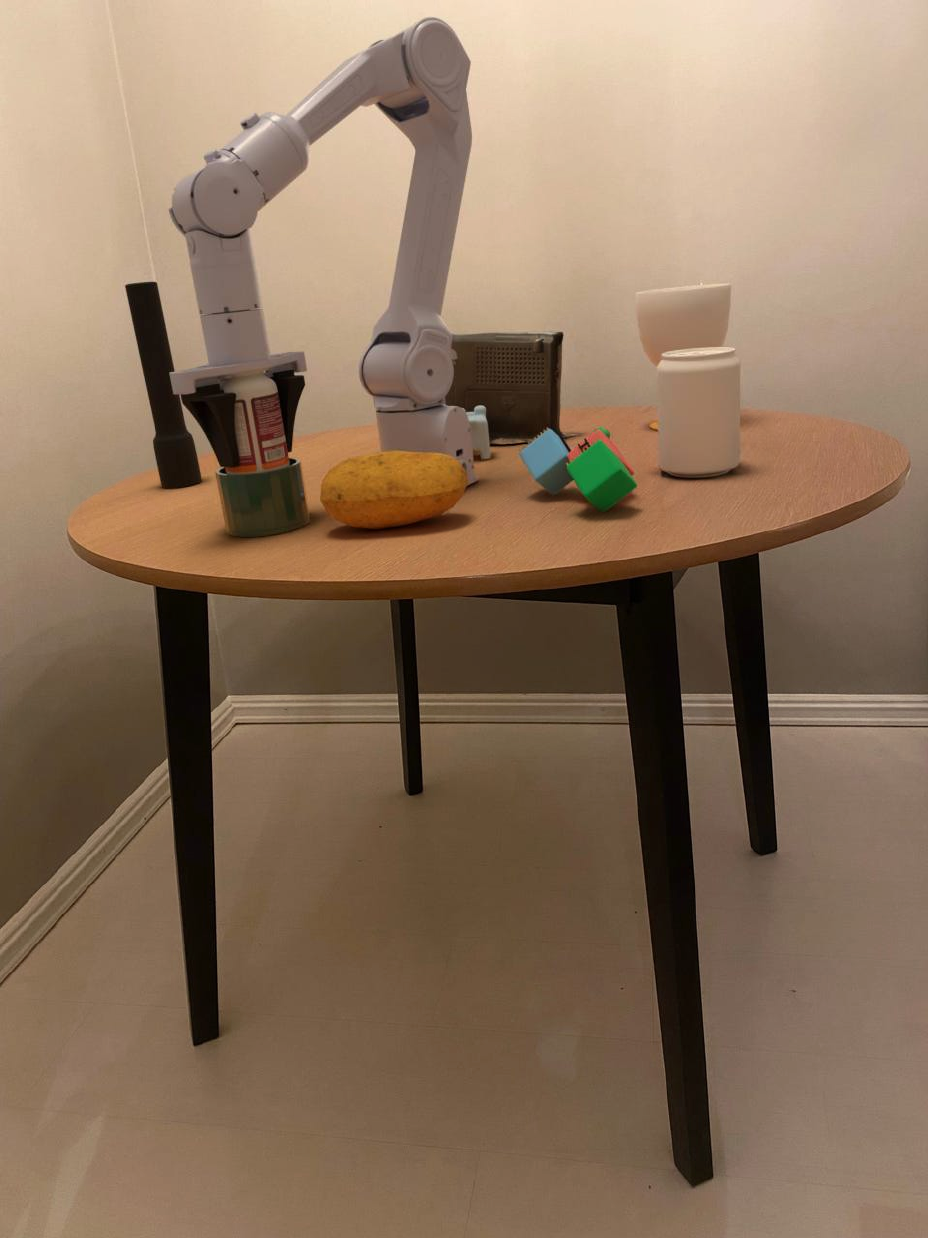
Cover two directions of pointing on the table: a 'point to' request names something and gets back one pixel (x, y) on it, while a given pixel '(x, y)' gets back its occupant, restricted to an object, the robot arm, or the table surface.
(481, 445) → the figurine
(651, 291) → the cup
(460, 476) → the potato
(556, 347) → the radio
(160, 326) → the flashlight
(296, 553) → the table surface
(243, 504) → the green round pot
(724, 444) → the beverage can
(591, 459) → the building blocks
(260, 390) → the pill bottle
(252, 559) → the table surface
